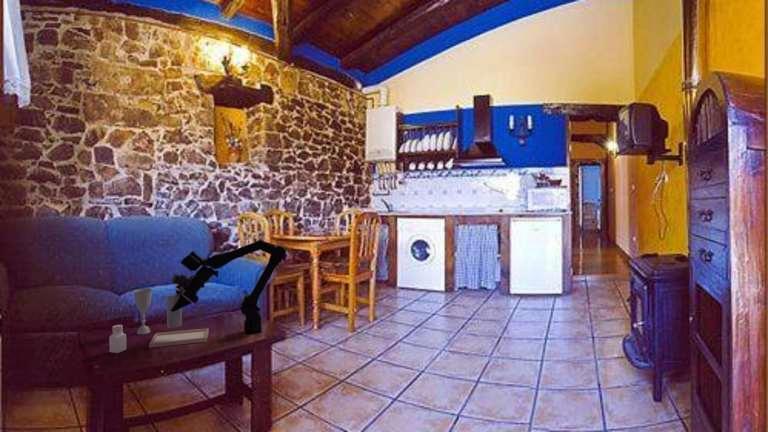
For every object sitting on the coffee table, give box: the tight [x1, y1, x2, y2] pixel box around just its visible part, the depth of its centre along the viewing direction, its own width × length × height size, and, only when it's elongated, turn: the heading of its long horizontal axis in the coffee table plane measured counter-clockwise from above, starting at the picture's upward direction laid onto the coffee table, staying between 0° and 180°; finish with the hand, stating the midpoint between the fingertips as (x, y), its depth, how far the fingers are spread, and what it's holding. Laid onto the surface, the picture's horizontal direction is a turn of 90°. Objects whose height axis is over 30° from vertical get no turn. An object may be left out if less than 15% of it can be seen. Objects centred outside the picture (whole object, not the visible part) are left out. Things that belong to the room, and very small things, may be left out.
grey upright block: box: [166, 293, 183, 329], centre depth 163 cm, size 5×5×12 cm
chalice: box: [132, 287, 153, 335], centre depth 172 cm, size 7×7×18 cm
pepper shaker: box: [108, 324, 127, 354], centre depth 151 cm, size 4×4×10 cm
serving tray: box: [148, 327, 210, 348], centre depth 164 cm, size 20×13×2 cm, turn 110°
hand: (170, 309), depth 162 cm, fingers closed on grey upright block, 5 cm apart
